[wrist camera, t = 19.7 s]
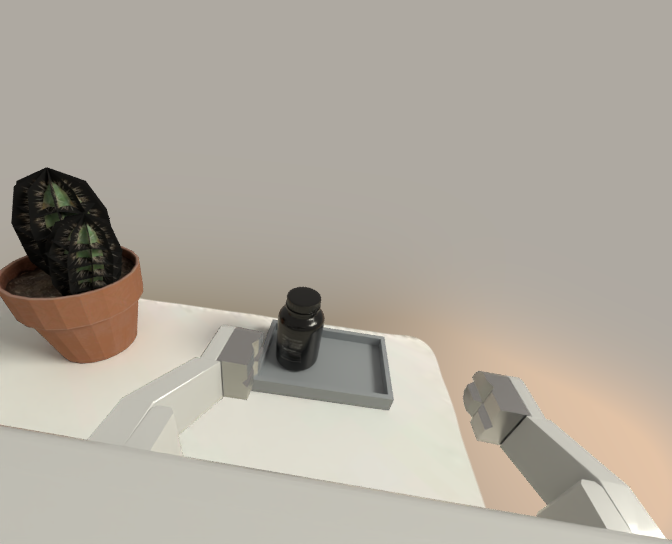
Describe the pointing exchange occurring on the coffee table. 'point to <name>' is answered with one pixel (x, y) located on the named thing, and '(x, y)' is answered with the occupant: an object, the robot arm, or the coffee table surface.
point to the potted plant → (71, 269)
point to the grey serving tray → (332, 371)
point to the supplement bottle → (299, 329)
